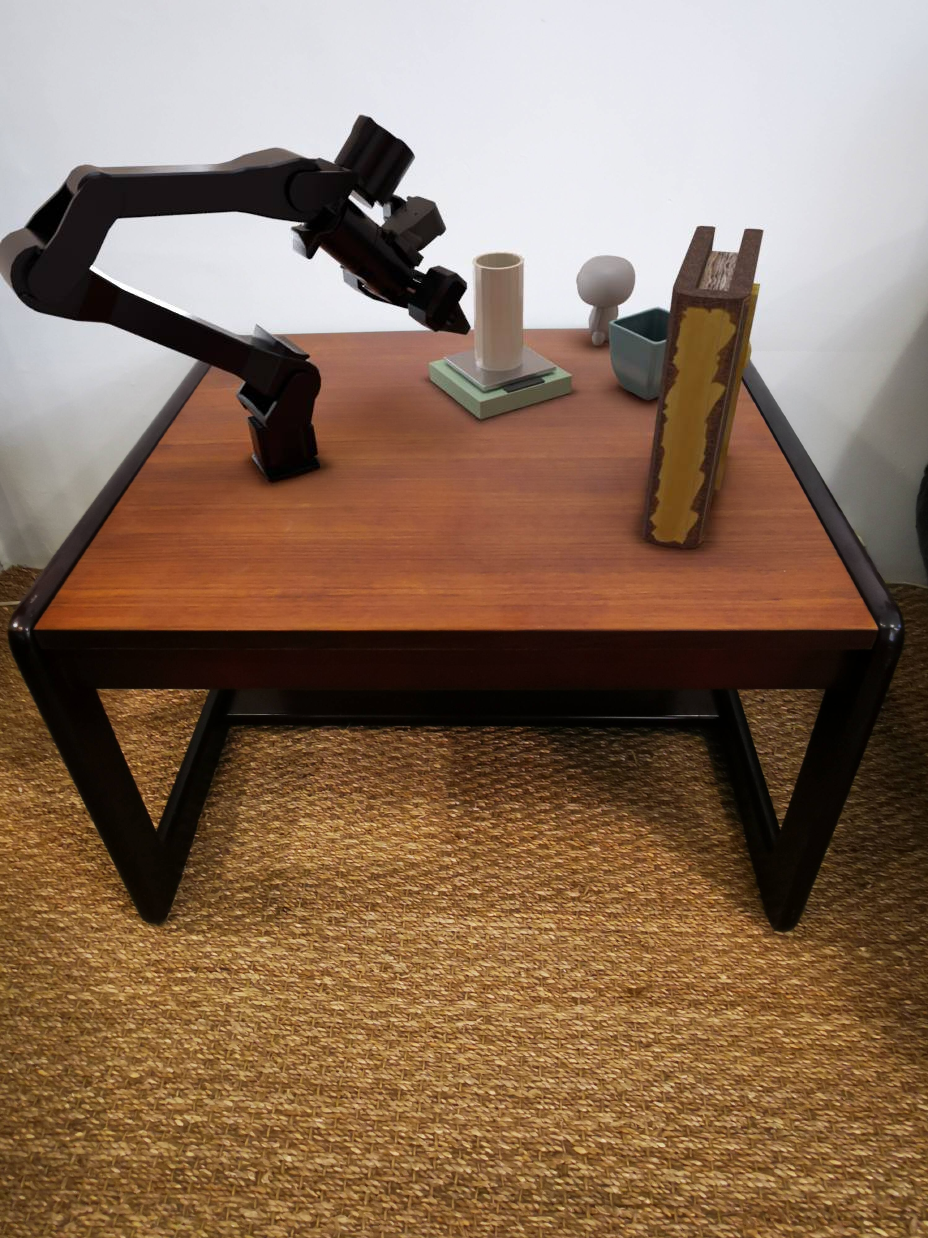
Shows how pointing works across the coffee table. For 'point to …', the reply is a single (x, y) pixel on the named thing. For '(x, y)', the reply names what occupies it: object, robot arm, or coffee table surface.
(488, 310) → the cup
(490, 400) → the scale
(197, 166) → the robot arm
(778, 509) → the coffee table surface
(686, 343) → the book
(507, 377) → the scale pan
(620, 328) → the flower pot
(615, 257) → the figurine
